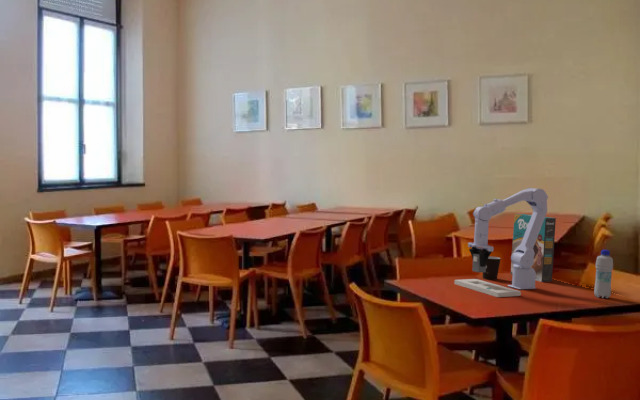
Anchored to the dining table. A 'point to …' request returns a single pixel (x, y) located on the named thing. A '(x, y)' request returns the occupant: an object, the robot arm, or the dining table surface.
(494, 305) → the dining table surface
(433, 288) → the dining table surface
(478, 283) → the panel
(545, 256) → the cake mix box
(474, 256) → the plug
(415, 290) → the dining table surface
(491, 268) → the coffee mug
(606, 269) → the bottle
